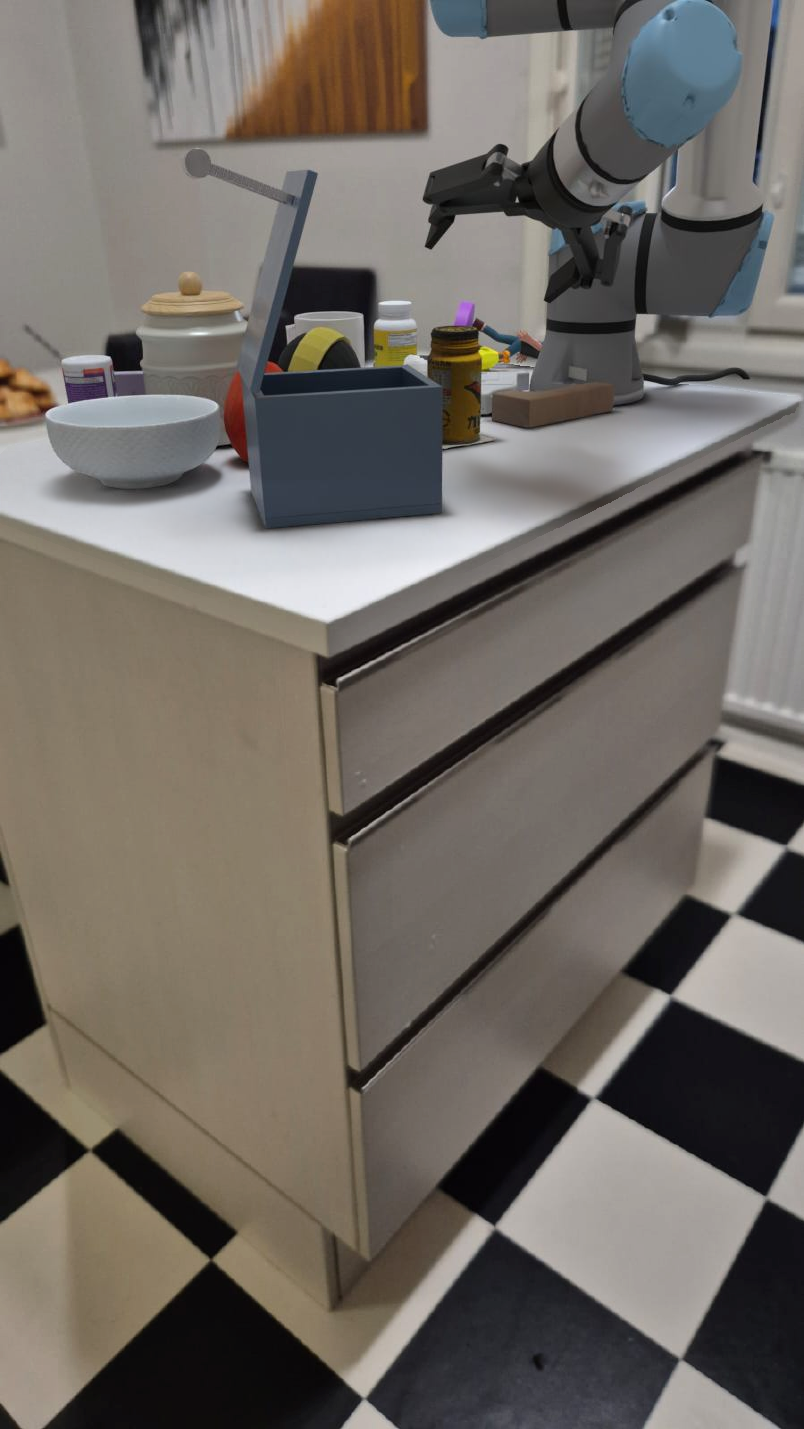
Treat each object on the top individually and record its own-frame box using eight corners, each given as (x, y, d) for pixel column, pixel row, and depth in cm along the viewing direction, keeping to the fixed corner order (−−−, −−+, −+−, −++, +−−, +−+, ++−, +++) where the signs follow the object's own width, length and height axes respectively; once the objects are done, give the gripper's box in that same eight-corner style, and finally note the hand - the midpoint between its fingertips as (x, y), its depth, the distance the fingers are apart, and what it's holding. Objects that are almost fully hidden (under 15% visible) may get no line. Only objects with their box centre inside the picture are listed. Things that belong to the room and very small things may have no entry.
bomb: (260, 423, 123) (366, 468, 119) (255, 346, 113) (370, 392, 110) (306, 374, 128) (409, 415, 125) (305, 297, 119) (415, 339, 116)
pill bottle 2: (373, 380, 147) (371, 300, 142) (414, 379, 148) (413, 299, 143) (377, 388, 142) (374, 305, 137) (419, 386, 143) (419, 304, 137)
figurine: (446, 369, 155) (558, 393, 153) (456, 307, 149) (573, 331, 148) (455, 355, 162) (563, 378, 161) (466, 295, 157) (577, 319, 156)
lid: (295, 174, 84) (186, 131, 80) (318, 173, 74) (194, 123, 70) (244, 370, 90) (141, 337, 87) (259, 394, 80) (142, 358, 77)
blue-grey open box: (410, 479, 98) (408, 364, 93) (442, 513, 88) (442, 386, 83) (251, 492, 95) (240, 374, 90) (265, 528, 85) (254, 398, 80)
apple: (311, 466, 104) (305, 358, 99) (233, 473, 102) (222, 363, 97) (296, 448, 111) (290, 347, 106) (222, 454, 109) (212, 352, 104)
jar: (207, 419, 124) (190, 265, 116) (285, 431, 117) (273, 269, 109) (126, 440, 115) (102, 274, 106) (206, 454, 108) (186, 278, 100)
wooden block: (528, 428, 117) (613, 411, 125) (529, 399, 116) (615, 384, 124) (491, 420, 122) (575, 404, 130) (491, 393, 120) (576, 378, 128)
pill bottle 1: (49, 360, 107) (65, 450, 111) (87, 362, 105) (101, 455, 109) (85, 353, 111) (99, 441, 116) (122, 355, 109) (134, 445, 113)
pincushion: (416, 394, 138) (379, 405, 137) (407, 349, 135) (369, 359, 134) (450, 403, 128) (410, 415, 127) (442, 354, 125) (401, 366, 124)
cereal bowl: (253, 484, 98) (246, 411, 94) (85, 513, 90) (72, 434, 87) (189, 451, 110) (181, 385, 107) (38, 473, 103) (24, 403, 99)
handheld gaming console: (530, 416, 123) (528, 391, 136) (530, 392, 122) (529, 370, 135) (440, 417, 124) (447, 393, 138) (440, 394, 123) (447, 371, 136)
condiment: (495, 441, 112) (499, 328, 107) (434, 452, 108) (434, 335, 103) (457, 429, 118) (458, 322, 112) (398, 439, 114) (396, 328, 108)
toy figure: (517, 350, 148) (442, 363, 146) (517, 374, 150) (443, 387, 148) (499, 339, 154) (426, 352, 151) (499, 363, 156) (427, 375, 153)
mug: (379, 403, 132) (377, 314, 127) (334, 414, 126) (329, 321, 121) (316, 393, 139) (311, 308, 134) (269, 403, 133) (263, 315, 128)
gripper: (440, 138, 77) (368, 248, 97) (705, 268, 84) (587, 344, 104) (466, 47, 77) (389, 175, 97) (728, 184, 84) (606, 277, 105)
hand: (491, 263), depth 101 cm, fingers open, 13 cm apart
